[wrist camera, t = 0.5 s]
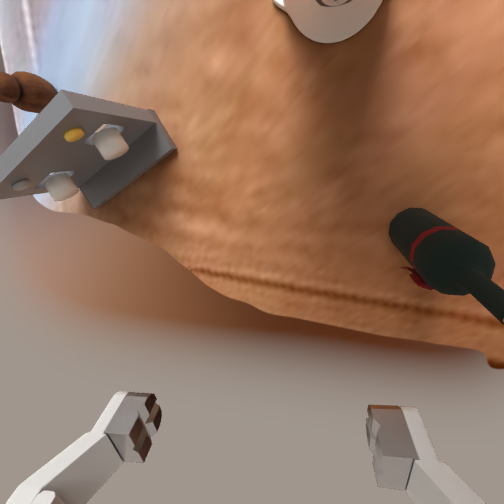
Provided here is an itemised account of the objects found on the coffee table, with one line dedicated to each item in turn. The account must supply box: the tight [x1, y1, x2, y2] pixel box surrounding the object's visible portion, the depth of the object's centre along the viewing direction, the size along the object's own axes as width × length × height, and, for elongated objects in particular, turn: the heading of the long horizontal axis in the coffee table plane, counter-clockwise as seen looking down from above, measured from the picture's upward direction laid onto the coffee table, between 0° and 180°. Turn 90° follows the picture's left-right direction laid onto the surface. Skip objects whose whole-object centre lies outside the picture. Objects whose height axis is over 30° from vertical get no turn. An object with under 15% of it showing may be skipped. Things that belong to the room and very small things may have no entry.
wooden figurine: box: [0, 72, 57, 113], centre depth 50 cm, size 7×6×15 cm
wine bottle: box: [389, 208, 504, 324], centre depth 36 cm, size 8×10×30 cm
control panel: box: [0, 90, 177, 209], centre depth 49 cm, size 8×24×21 cm, turn 122°
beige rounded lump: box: [92, 127, 129, 160], centre depth 46 cm, size 3×4×4 cm
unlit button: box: [43, 173, 79, 201], centre depth 51 cm, size 3×4×4 cm
